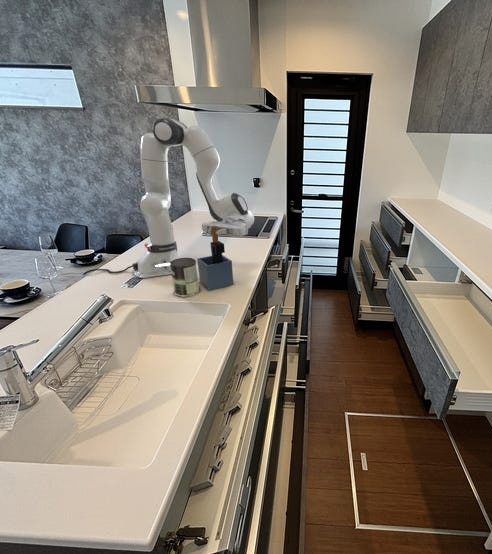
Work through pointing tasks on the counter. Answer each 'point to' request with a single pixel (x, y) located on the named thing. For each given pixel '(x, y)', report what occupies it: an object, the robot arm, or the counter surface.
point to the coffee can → (184, 276)
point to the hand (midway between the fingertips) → (213, 232)
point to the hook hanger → (216, 247)
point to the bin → (215, 273)
